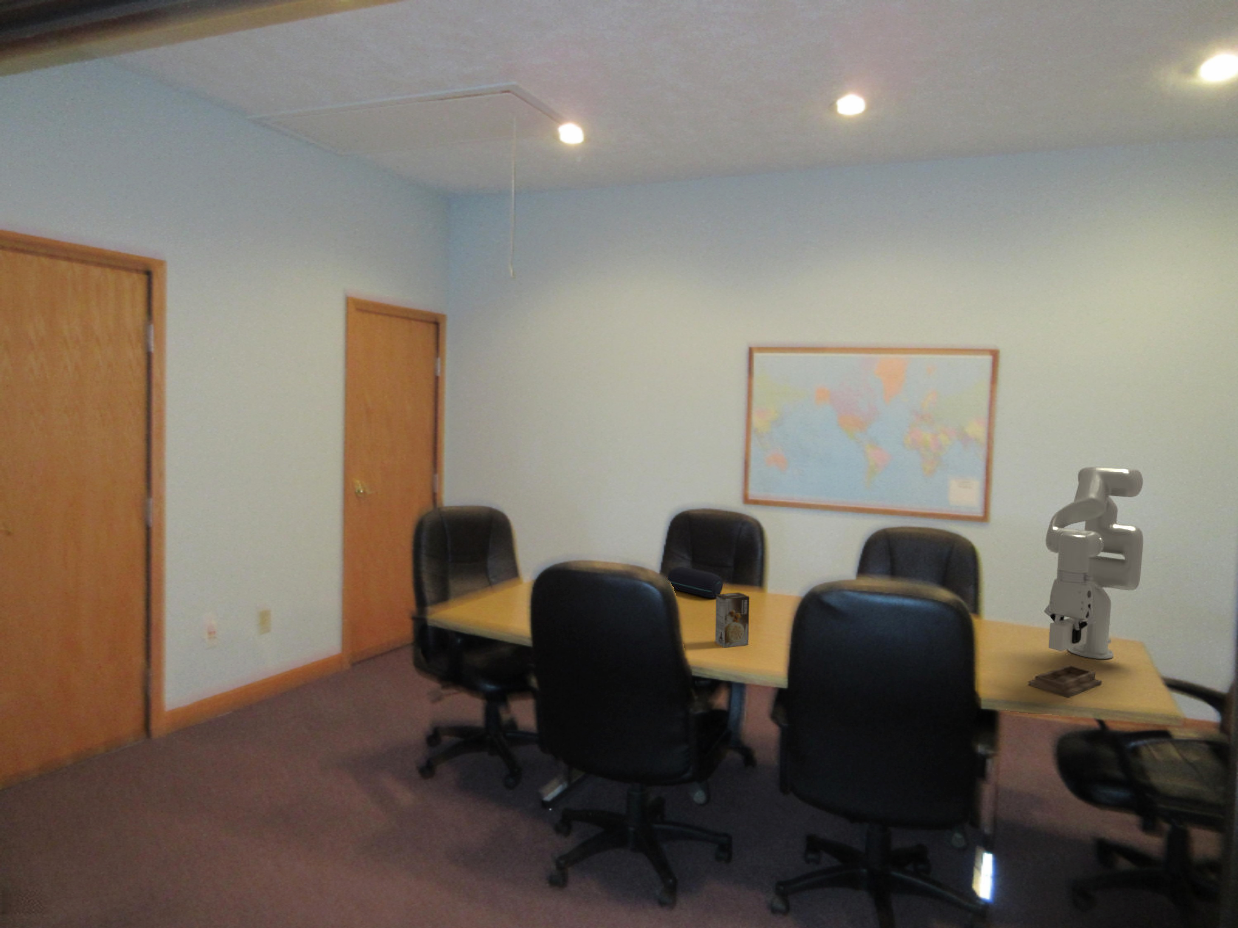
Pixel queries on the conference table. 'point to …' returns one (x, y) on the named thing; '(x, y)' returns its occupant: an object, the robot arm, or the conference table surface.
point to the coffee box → (732, 619)
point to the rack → (1066, 681)
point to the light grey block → (1064, 635)
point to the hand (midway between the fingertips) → (1067, 640)
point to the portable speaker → (695, 582)
